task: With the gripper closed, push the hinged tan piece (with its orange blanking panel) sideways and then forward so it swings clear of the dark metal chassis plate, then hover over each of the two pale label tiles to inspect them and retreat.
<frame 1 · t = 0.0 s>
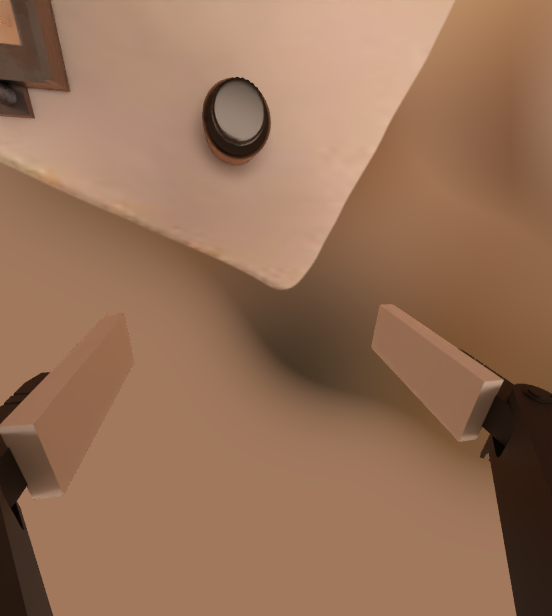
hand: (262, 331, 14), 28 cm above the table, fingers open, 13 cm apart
supplement bottle: (234, 136, 34), on the table
post: (10, 96, 29), on the table
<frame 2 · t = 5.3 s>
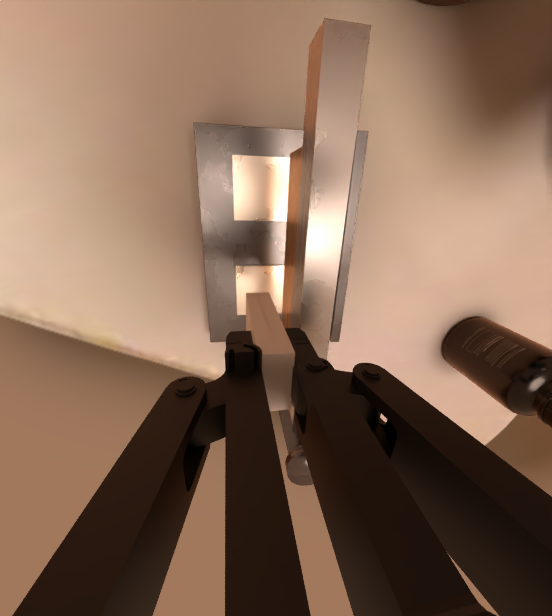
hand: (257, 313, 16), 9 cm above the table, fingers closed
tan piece: (302, 262, 15), point 10 cm above the table, hinge at 0.5°, touching gripper
chassis: (273, 245, 24), on the table
supplement bottle: (465, 340, 33), on the table
post: (271, 337, 28), on the table
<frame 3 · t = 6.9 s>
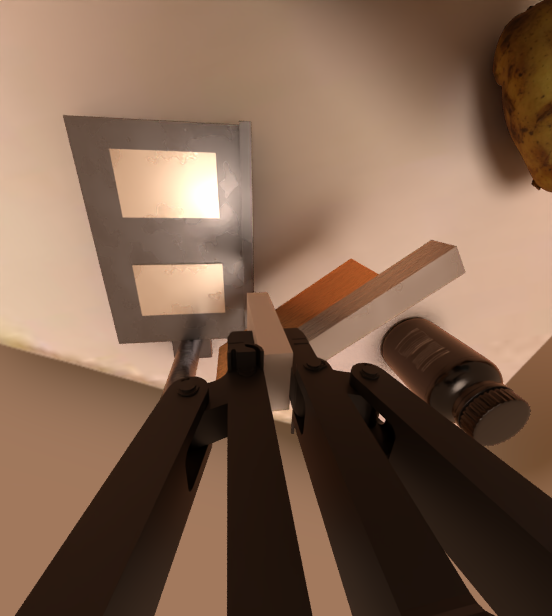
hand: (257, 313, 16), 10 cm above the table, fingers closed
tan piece: (297, 327, 17), point 10 cm above the table, hinge at 55.1°, touching gripper
chassis: (181, 243, 23), on the table
potato: (513, 117, 23), on the table
supplement bottle: (407, 341, 31), on the table
post: (192, 338, 27), on the table
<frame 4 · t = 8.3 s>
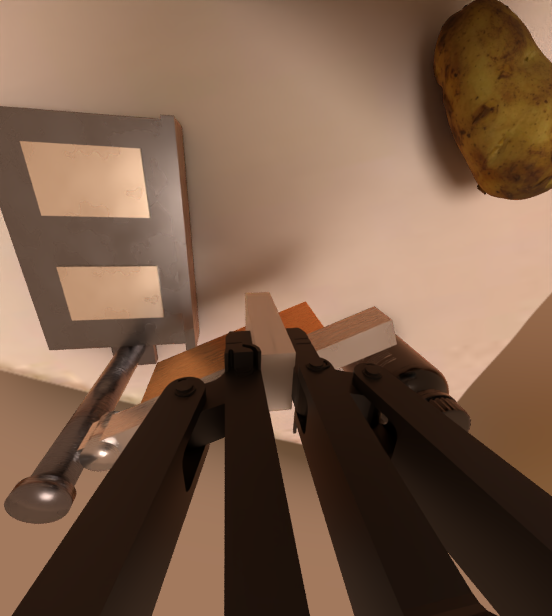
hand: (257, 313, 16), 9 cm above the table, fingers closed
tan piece: (237, 361, 17), point 10 cm above the table, hinge at 67.3°, touching gripper
chassis: (115, 244, 22), on the table
potato: (460, 120, 23), on the table
supplement bottle: (364, 347, 31), on the table
post: (135, 344, 26), on the table
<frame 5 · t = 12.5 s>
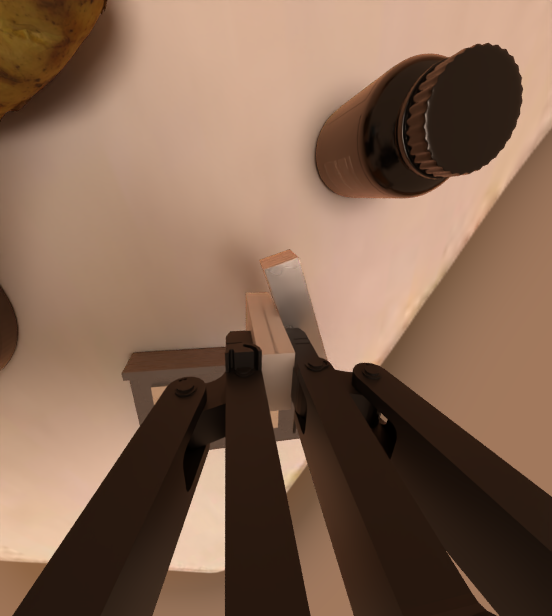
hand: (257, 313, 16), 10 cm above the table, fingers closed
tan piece: (309, 369, 18), point 10 cm above the table, hinge at 70.5°, touching gripper
chassis: (224, 393, 30), on the table
potato: (34, 44, 17), on the table
supplement bottle: (351, 152, 23), on the table
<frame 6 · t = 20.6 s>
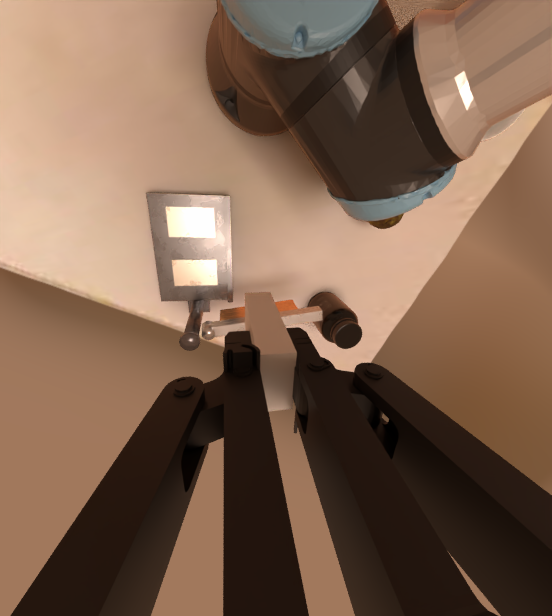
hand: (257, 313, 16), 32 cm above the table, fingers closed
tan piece: (261, 315, 41), point 10 cm above the table, hinge at 82.9°
cereal bowl: (450, 88, 42), on the table
chassis: (195, 249, 45), on the table
supplement bottle: (323, 306, 54), on the table
post: (199, 301, 49), on the table
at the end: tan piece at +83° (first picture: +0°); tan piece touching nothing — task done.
